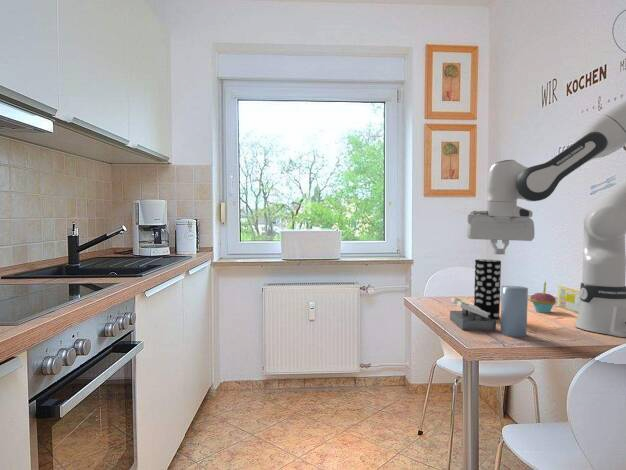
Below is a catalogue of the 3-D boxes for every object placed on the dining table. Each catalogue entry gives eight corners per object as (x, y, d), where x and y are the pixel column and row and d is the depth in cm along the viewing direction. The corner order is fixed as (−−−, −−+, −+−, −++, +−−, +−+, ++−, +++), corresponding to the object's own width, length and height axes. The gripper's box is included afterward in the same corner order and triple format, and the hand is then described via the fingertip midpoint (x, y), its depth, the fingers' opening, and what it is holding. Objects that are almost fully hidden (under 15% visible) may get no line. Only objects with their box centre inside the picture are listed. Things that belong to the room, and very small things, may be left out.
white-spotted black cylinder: (497, 315, 147) (498, 259, 147) (501, 320, 139) (502, 262, 139) (472, 313, 149) (473, 259, 149) (475, 318, 141) (476, 261, 141)
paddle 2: (483, 315, 131) (485, 310, 131) (487, 317, 127) (489, 312, 127) (456, 304, 131) (458, 300, 131) (459, 307, 128) (461, 302, 128)
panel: (479, 320, 140) (480, 306, 139) (495, 330, 126) (496, 316, 125) (449, 319, 140) (450, 305, 140) (462, 330, 126) (462, 315, 126)
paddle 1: (475, 310, 138) (477, 305, 138) (479, 312, 134) (481, 308, 134) (450, 300, 138) (452, 296, 138) (453, 302, 135) (455, 298, 135)
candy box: (588, 315, 150) (589, 292, 150) (582, 315, 150) (583, 292, 150) (561, 306, 166) (562, 286, 166) (556, 306, 166) (557, 285, 166)
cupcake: (559, 314, 150) (560, 282, 150) (534, 313, 151) (535, 281, 151) (549, 309, 158) (550, 278, 158) (526, 308, 160) (527, 278, 159)
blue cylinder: (520, 331, 126) (521, 285, 125) (530, 337, 119) (532, 289, 118) (496, 330, 126) (498, 285, 126) (506, 337, 119) (507, 289, 119)
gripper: (471, 210, 129) (469, 254, 130) (538, 211, 128) (535, 256, 129) (465, 210, 135) (463, 252, 136) (528, 212, 134) (526, 254, 135)
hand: (499, 254), depth 132 cm, fingers closed
